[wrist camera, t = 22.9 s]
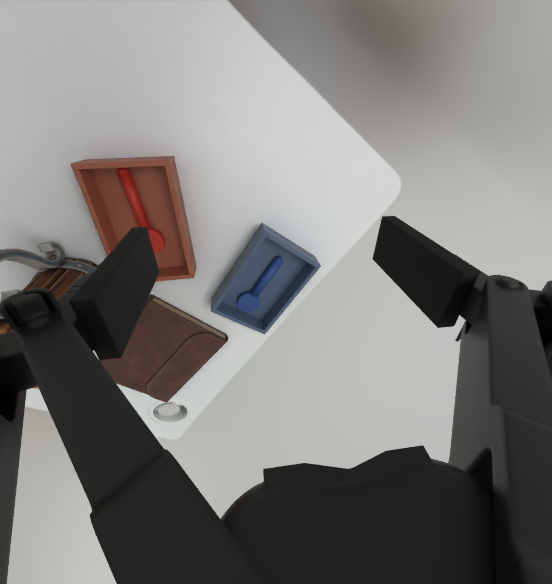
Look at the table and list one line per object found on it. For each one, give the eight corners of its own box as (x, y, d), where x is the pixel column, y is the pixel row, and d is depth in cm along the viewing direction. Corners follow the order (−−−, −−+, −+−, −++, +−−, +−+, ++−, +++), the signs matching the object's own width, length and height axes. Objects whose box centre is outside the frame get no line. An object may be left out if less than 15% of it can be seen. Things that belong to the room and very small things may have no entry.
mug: (132, 310, 44) (94, 387, 31) (65, 321, 43) (-3, 404, 30) (86, 215, 35) (8, 268, 22) (0, 226, 34) (-131, 288, 22)
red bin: (84, 159, 32) (70, 163, 29) (174, 156, 33) (168, 159, 30) (126, 272, 40) (118, 284, 37) (196, 266, 41) (194, 278, 38)
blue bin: (262, 222, 39) (264, 231, 36) (314, 256, 43) (321, 266, 40) (211, 298, 45) (210, 311, 42) (262, 321, 49) (264, 334, 46)
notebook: (94, 367, 49) (89, 376, 47) (151, 294, 42) (147, 301, 41) (169, 395, 56) (167, 403, 54) (228, 335, 49) (228, 342, 48)
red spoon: (108, 166, 32) (103, 168, 31) (138, 163, 32) (135, 164, 31) (142, 253, 38) (140, 257, 37) (168, 249, 39) (166, 253, 37)
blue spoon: (271, 249, 41) (272, 253, 40) (289, 260, 42) (291, 264, 41) (233, 303, 45) (233, 308, 44) (251, 311, 47) (251, 316, 45)
